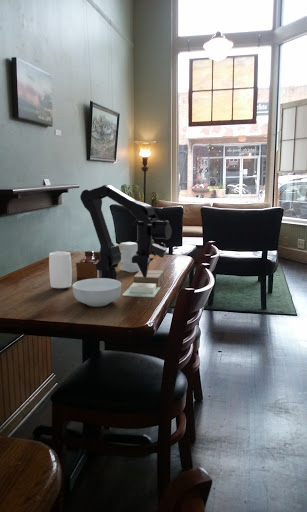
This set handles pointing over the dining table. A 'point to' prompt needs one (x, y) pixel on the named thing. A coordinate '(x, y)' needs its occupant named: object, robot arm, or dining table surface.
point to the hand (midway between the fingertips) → (144, 277)
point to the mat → (140, 293)
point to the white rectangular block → (143, 287)
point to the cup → (60, 269)
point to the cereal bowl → (97, 291)
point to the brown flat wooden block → (150, 277)
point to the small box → (128, 256)
